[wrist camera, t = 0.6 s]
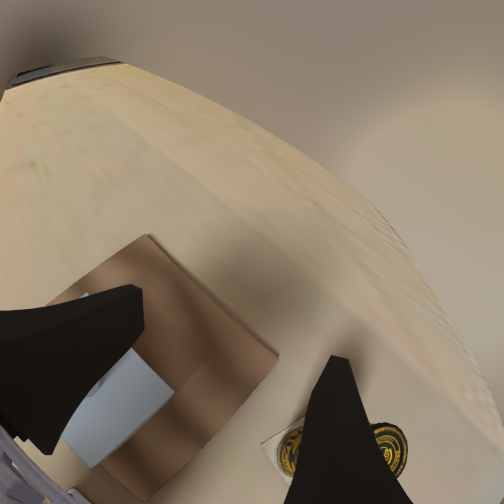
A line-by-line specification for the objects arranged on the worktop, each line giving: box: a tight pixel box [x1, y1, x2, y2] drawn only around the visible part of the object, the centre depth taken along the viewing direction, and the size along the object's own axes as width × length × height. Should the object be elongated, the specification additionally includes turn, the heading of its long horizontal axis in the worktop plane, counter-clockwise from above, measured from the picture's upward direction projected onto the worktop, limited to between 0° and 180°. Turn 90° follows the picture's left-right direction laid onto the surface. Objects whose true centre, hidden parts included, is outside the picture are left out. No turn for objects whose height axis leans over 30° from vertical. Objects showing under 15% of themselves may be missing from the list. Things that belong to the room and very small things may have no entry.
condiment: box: [260, 416, 408, 487], centre depth 17 cm, size 7×8×12 cm
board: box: [45, 234, 279, 502], centre depth 22 cm, size 20×20×1 cm
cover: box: [61, 293, 175, 469], centre depth 15 cm, size 9×10×9 cm
